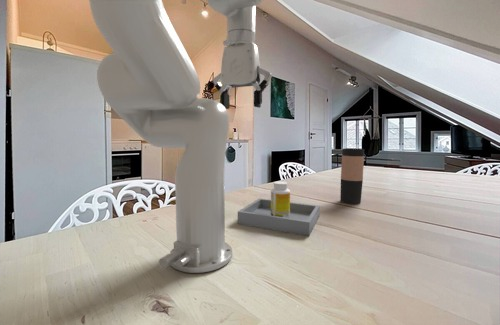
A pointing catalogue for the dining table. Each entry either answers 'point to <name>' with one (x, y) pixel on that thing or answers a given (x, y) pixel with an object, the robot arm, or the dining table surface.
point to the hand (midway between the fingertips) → (241, 107)
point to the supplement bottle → (280, 200)
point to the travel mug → (352, 175)
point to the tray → (296, 223)
